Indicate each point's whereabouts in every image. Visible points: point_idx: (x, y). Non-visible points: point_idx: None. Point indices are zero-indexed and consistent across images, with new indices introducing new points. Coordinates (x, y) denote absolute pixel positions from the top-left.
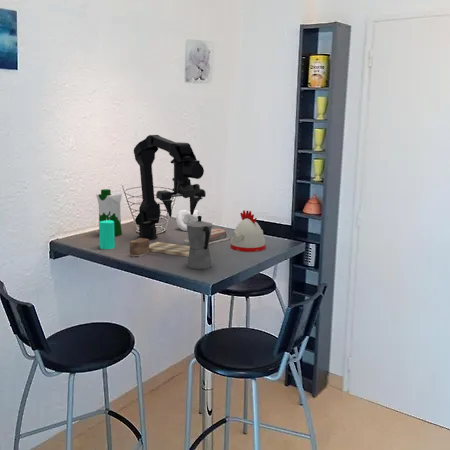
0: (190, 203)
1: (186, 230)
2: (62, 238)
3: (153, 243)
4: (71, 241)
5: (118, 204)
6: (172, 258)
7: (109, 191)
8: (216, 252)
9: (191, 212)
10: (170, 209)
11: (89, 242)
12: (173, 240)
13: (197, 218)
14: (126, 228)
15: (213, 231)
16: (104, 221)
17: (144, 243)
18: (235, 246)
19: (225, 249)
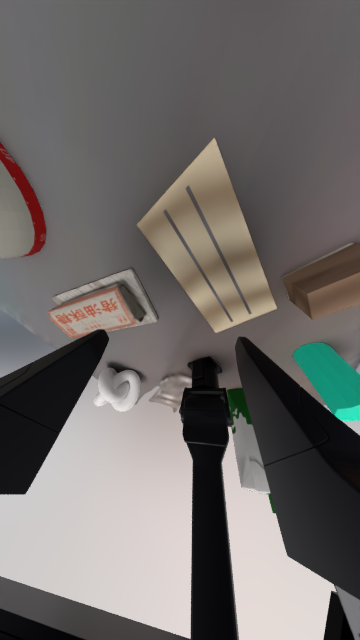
0: (64, 410)
1: (131, 370)
2: None
3: (231, 326)
4: (317, 394)
5: (250, 456)
6: (282, 149)
7: None
8: (91, 169)
9: (97, 341)
10: (279, 380)
11: (302, 382)
12: (170, 339)
13: (102, 382)
14: None
15: (77, 317)
16: (347, 417)
17: (337, 274)
18: (7, 167)
19: (60, 202)
